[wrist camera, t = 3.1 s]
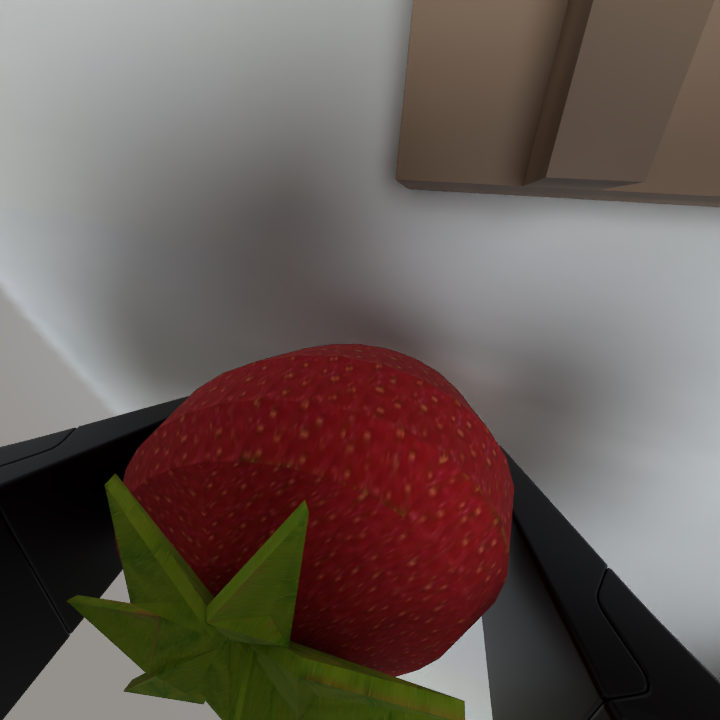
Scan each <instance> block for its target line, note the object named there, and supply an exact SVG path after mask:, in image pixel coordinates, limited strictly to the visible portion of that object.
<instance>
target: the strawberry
mask: <svg viewBox="0 0 720 720" xmlns="http://www.w3.org/2000/svg"><path fill="white" fill-rule="evenodd" d="M105 489H106V493H107V498H108V503H109V507H110V512H111V516H112V521H113V525H114V530H115V543H116V549H117V552H118V555H119V558H120V560H121V563H122V566H123V570H124V575H125V580H126V584H127V589H128V593H129V598H130V603H125V602H119V601H112V600H106V599H100V598H93V597H87V596H81V595H77V596H75V597H73V598H71V599H69V600H67V602H68V603H69V604H70V605H72V606H73V607H74V608H75V609H76V610H77V611H78V612H79V613H80V614H82V615H83V616H84V617H85V618H86V619H87V620H88V621H89V622H91V624H93V625H94V626H95V627H96V628H97V629H98V630H99V631H100V632H101V633H103V634H104V635H105V636H106V637H107V638H108V639H109V640H110V641H111V642H112V643H114V644H115V645H116V646H117V647H118V648H119V649H120V650H121V651H122V652H124V653H125V654H126V655H127V656H128V657H129V658H130V659H131V660H132V661H133V662H135V663H136V664H137V665H138V666H139V667H140V668H141V669H142V670H143V671H145V672H146V673H144V674H142V675H141V676H139V677H137V678H135V679H133V680H132V681H131V682H130V683H129V684H128V686H127V687H126V688H125V690H124V691H125V692H131V693H137V694H143V695H149V696H155V697H162V698H168V699H174V700H180V701H186V702H192V703H198V704H204V702H205V701H206V702H207V703H208V704H209V705H210V706H211V708H212V709H213V710H214V711H215V712H216V713H217V715H218V716H219V717H220V718H221V719H222V720H465V705H464V701H463V700H460V699H457V698H454V697H451V696H448V695H445V694H442V693H440V692H437V691H434V690H431V689H428V688H425V687H422V686H419V685H416V684H414V683H411V682H408V681H405V680H402V679H399V678H396V676H400V675H403V674H406V673H410V672H413V671H416V670H419V669H421V668H423V667H424V666H426V665H428V664H430V663H432V662H434V661H435V660H437V659H439V658H440V657H441V656H442V655H443V654H444V653H445V652H446V651H447V650H448V649H449V648H450V647H451V646H452V645H453V644H454V643H455V642H456V641H457V640H458V639H459V638H460V637H461V636H462V635H463V634H464V633H465V632H466V631H467V630H468V629H469V628H470V627H471V626H472V625H473V624H474V623H475V622H476V621H477V620H478V619H479V618H480V617H481V616H482V615H483V614H484V613H485V612H486V611H487V610H488V609H489V608H490V607H491V606H492V605H493V604H494V603H495V601H496V599H497V597H498V595H499V593H500V591H501V589H502V587H503V585H504V583H505V581H506V579H507V572H508V560H509V547H510V535H511V522H512V510H513V497H514V485H513V481H512V477H511V473H510V470H509V466H508V462H507V458H506V456H505V455H504V453H503V452H502V450H501V448H500V447H499V445H498V444H497V442H496V441H495V439H494V437H493V436H492V434H491V433H490V431H489V429H488V428H487V427H486V425H485V424H484V423H483V422H482V420H481V419H480V418H479V417H478V415H477V414H476V413H475V411H474V410H473V409H472V408H471V406H470V405H469V404H468V403H467V401H466V400H465V399H464V398H463V396H462V395H461V394H460V392H459V391H458V390H457V389H456V388H455V387H454V386H453V385H452V384H451V383H449V382H448V381H447V380H446V379H445V378H444V377H443V376H442V375H441V374H440V373H439V372H437V371H435V370H434V369H432V368H430V367H429V366H427V365H425V364H423V363H422V362H420V361H418V360H417V359H415V358H412V357H409V356H407V355H404V354H401V353H398V352H395V351H392V350H389V349H386V348H380V347H373V346H367V345H361V344H330V345H324V346H318V347H311V348H305V349H301V350H297V351H293V352H290V353H286V354H282V355H278V356H275V357H271V358H267V359H264V360H260V361H256V362H253V363H250V364H248V365H245V366H242V367H239V368H236V369H234V370H231V371H228V372H225V373H223V374H221V375H219V376H218V377H216V378H214V379H213V380H211V381H209V382H208V383H206V384H204V385H203V386H201V387H199V388H198V389H196V390H195V391H194V392H193V393H192V394H191V395H190V396H189V397H188V398H187V399H186V400H185V401H184V402H183V403H182V404H181V405H180V406H179V407H178V408H177V409H176V410H175V411H174V412H173V413H172V414H171V415H170V416H169V417H168V418H167V419H166V420H165V421H164V422H163V423H162V424H161V425H160V426H159V427H158V428H157V429H156V430H155V431H154V432H153V433H152V434H151V435H150V436H149V437H148V438H147V439H146V440H145V441H144V442H143V443H142V444H141V445H140V446H139V448H138V449H137V450H136V452H135V454H134V456H133V457H132V459H131V461H130V463H129V464H128V466H127V468H126V471H125V475H124V480H123V482H122V481H121V480H120V478H119V477H118V476H117V475H116V473H115V474H114V475H113V476H112V478H111V479H110V480H109V481H108V482H107V483H106V484H105Z"/></svg>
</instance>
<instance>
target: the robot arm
mask: <svg viewBox="0 0 720 720" xmlns="http://www.w3.org/2000/svg"><path fill="white" fill-rule="evenodd" d="M188 397H189V396H187V397H184V398H180V399H177V400H173V401H169V402H166V403H162V404H158V405H155V406H151V407H148V408H144V409H140V410H137V411H133V412H130V413H126V414H122V415H119V416H115V417H111V418H108V419H105V420H101V421H97V422H93V423H90V424H86V425H83V426H79V427H78V428H72V429H68V430H65V431H61V432H57V433H53V434H50V435H46V436H42V437H38V438H35V439H31V440H27V441H23V442H19V443H15V444H11V445H7V446H2V447H0V720H3V719H4V718H5V716H6V715H7V714H8V713H9V711H10V710H11V709H12V707H13V706H14V705H15V704H16V703H17V701H18V700H19V699H20V698H21V696H22V695H23V694H24V693H25V691H26V690H27V688H29V686H30V685H31V684H32V682H33V681H34V680H35V679H36V677H37V676H38V675H39V674H40V672H41V671H42V670H43V669H44V667H45V666H46V665H47V664H48V662H49V661H50V660H51V659H52V657H53V656H54V655H55V654H56V652H57V651H58V650H59V649H60V647H61V646H62V645H63V644H64V643H65V641H66V640H67V639H68V637H69V636H70V634H69V633H72V632H73V631H74V630H75V628H76V627H77V626H78V625H79V623H80V622H81V621H82V620H83V618H84V616H83V615H82V614H80V613H79V612H78V611H77V610H76V609H75V608H74V607H73V606H72V605H70V604H69V603H68V602H67V600H69V599H71V598H73V597H75V596H77V595H81V596H87V597H93V598H100V597H101V596H102V595H103V593H104V592H105V591H106V590H107V588H108V587H109V586H110V585H111V583H112V582H113V581H114V580H115V578H116V577H117V576H118V575H119V573H120V572H121V571H122V570H123V566H122V563H121V560H120V558H119V555H118V552H117V549H116V543H115V530H114V525H113V521H112V516H111V512H110V507H109V503H108V498H107V493H106V489H105V484H106V483H107V482H108V481H109V480H110V479H111V478H112V476H113V475H114V474H115V473H116V475H117V476H118V477H119V478H120V480H121V481H122V482H123V480H124V475H125V471H126V468H127V466H128V464H129V463H130V461H131V459H132V457H133V456H134V454H135V452H136V450H137V449H138V448H139V446H140V445H141V444H142V443H143V442H144V441H145V440H146V439H147V438H148V437H149V436H150V435H151V434H152V433H153V432H154V431H155V430H156V429H157V428H158V427H159V426H160V425H161V424H162V423H163V422H164V421H165V420H166V419H167V418H168V417H169V416H170V415H171V414H172V413H173V412H174V411H175V410H176V409H177V408H178V407H179V406H180V405H181V404H182V403H183V402H184V401H185V400H186V399H187V398H188ZM499 447H500V448H501V450H502V452H503V453H504V455H505V456H506V458H507V462H508V466H509V470H510V473H511V477H512V481H513V485H514V497H513V510H512V522H511V535H510V547H509V560H508V572H507V579H506V581H505V583H504V585H503V587H502V589H501V591H500V593H499V595H498V597H497V599H496V601H495V603H494V604H493V605H492V606H491V607H490V608H489V609H488V610H487V611H486V612H485V613H484V614H483V615H482V622H483V631H484V641H485V650H486V660H487V669H488V679H489V688H490V698H491V707H492V716H493V720H720V682H719V681H718V680H717V679H716V678H715V677H714V676H713V675H712V674H711V673H710V672H709V671H708V670H707V669H706V668H705V667H704V666H703V665H702V664H701V663H700V662H699V661H698V660H697V659H696V658H695V657H694V656H693V655H692V654H691V653H690V652H689V651H688V650H687V649H686V648H685V647H684V646H683V645H682V644H681V643H680V642H679V641H678V640H677V639H676V638H675V637H674V636H673V635H672V634H671V633H670V632H669V630H668V629H667V628H666V627H665V626H664V625H663V624H662V623H661V622H660V621H659V620H658V619H657V618H656V617H655V616H654V615H653V614H652V613H651V612H650V611H649V610H648V609H647V608H646V606H645V605H644V604H643V603H642V602H641V601H640V600H639V599H638V598H637V597H636V596H635V595H634V594H633V592H632V591H631V590H630V589H629V588H628V587H627V586H626V585H625V584H624V583H623V581H622V580H621V579H620V578H619V577H618V576H617V575H616V574H615V573H614V571H613V570H612V569H610V568H607V564H606V563H605V562H604V561H603V559H602V558H601V557H600V556H599V555H598V554H597V553H596V552H595V551H594V549H593V548H592V547H591V546H590V545H589V544H588V543H587V542H586V541H585V539H584V538H583V537H582V536H581V535H580V534H579V533H578V532H577V530H576V529H575V528H574V527H573V526H572V525H571V524H570V523H569V522H568V520H567V519H566V518H565V517H564V516H563V515H562V514H561V513H560V512H559V510H558V509H557V508H556V507H555V506H554V505H553V504H552V503H551V502H550V500H549V499H548V498H547V497H546V496H545V495H544V494H543V493H542V491H541V490H540V489H539V488H538V487H537V486H536V485H535V484H534V483H533V481H532V480H531V479H530V478H529V477H528V476H527V475H526V474H525V473H524V471H523V470H522V469H521V468H520V467H519V466H518V465H517V464H516V463H515V461H514V460H513V459H512V458H511V457H510V456H509V455H508V454H507V453H506V451H505V450H504V449H503V448H502V447H501V446H499Z"/></svg>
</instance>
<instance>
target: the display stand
mask: <svg viewBox="0 0 720 720" xmlns="http://www.w3.org/2000/svg"><path fill="white" fill-rule="evenodd" d="M396 180H397V181H399V182H400V183H401V184H403V185H404V186H406V187H407V188H409V189H418V190H435V191H452V192H469V193H487V194H504V195H521V196H539V197H556V198H573V199H590V200H608V201H625V202H642V203H660V204H677V205H694V206H711V207H720V0H413V9H412V19H411V29H410V39H409V50H408V60H407V70H406V80H405V90H404V101H403V111H402V121H401V131H400V141H399V152H398V162H397V172H396Z"/></svg>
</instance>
